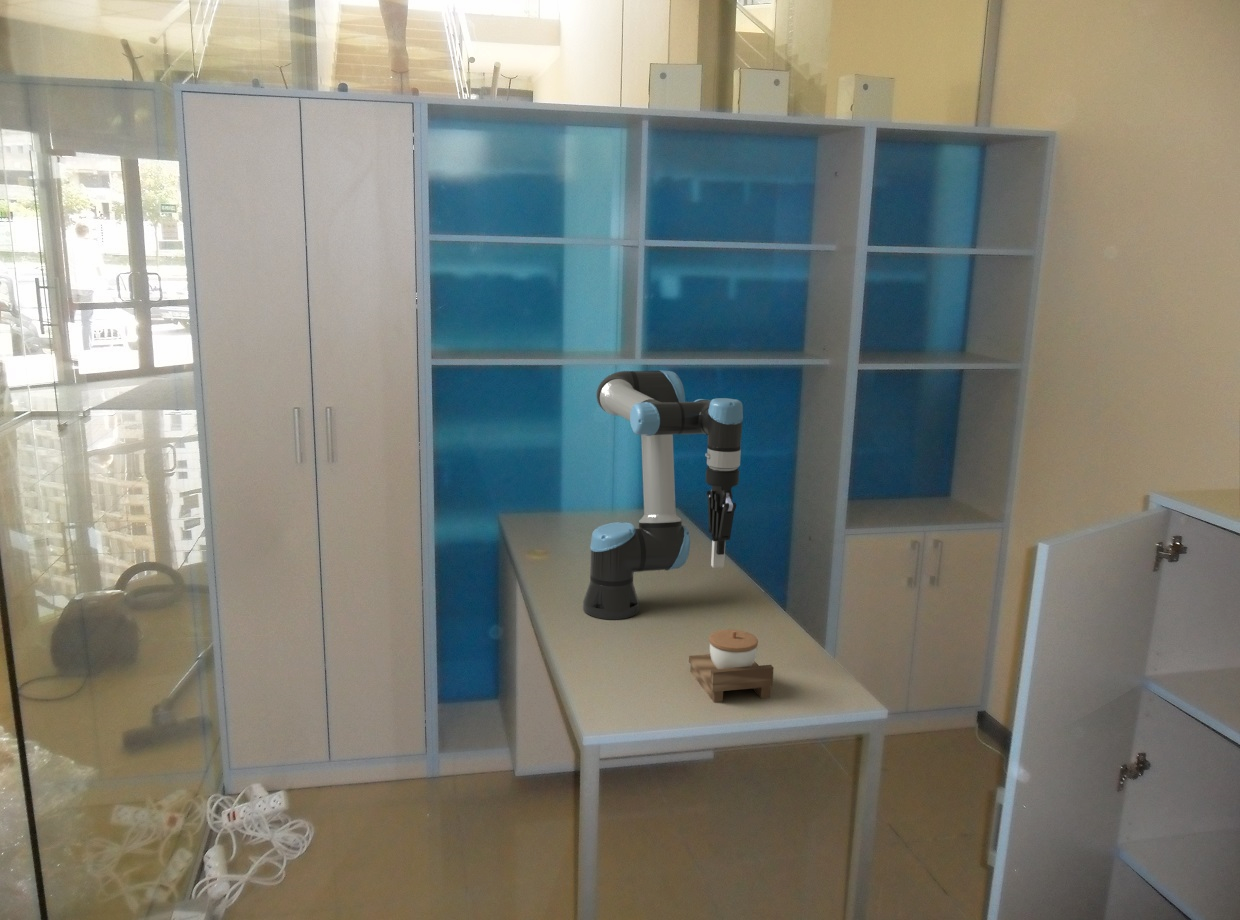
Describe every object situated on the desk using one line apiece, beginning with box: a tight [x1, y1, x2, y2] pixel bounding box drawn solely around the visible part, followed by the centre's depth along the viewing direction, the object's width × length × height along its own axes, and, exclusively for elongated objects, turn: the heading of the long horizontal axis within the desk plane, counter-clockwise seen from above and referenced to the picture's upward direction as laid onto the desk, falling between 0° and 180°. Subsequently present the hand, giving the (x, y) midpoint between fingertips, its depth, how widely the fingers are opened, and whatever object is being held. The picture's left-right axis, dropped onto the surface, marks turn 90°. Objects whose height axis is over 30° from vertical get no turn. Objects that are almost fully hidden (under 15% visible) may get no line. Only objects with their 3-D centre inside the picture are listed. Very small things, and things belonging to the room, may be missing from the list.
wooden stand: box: [688, 653, 775, 703], centre depth 222 cm, size 16×14×7 cm
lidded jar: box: [708, 629, 759, 669], centre depth 219 cm, size 11×11×9 cm
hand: (717, 566), depth 228 cm, fingers closed
